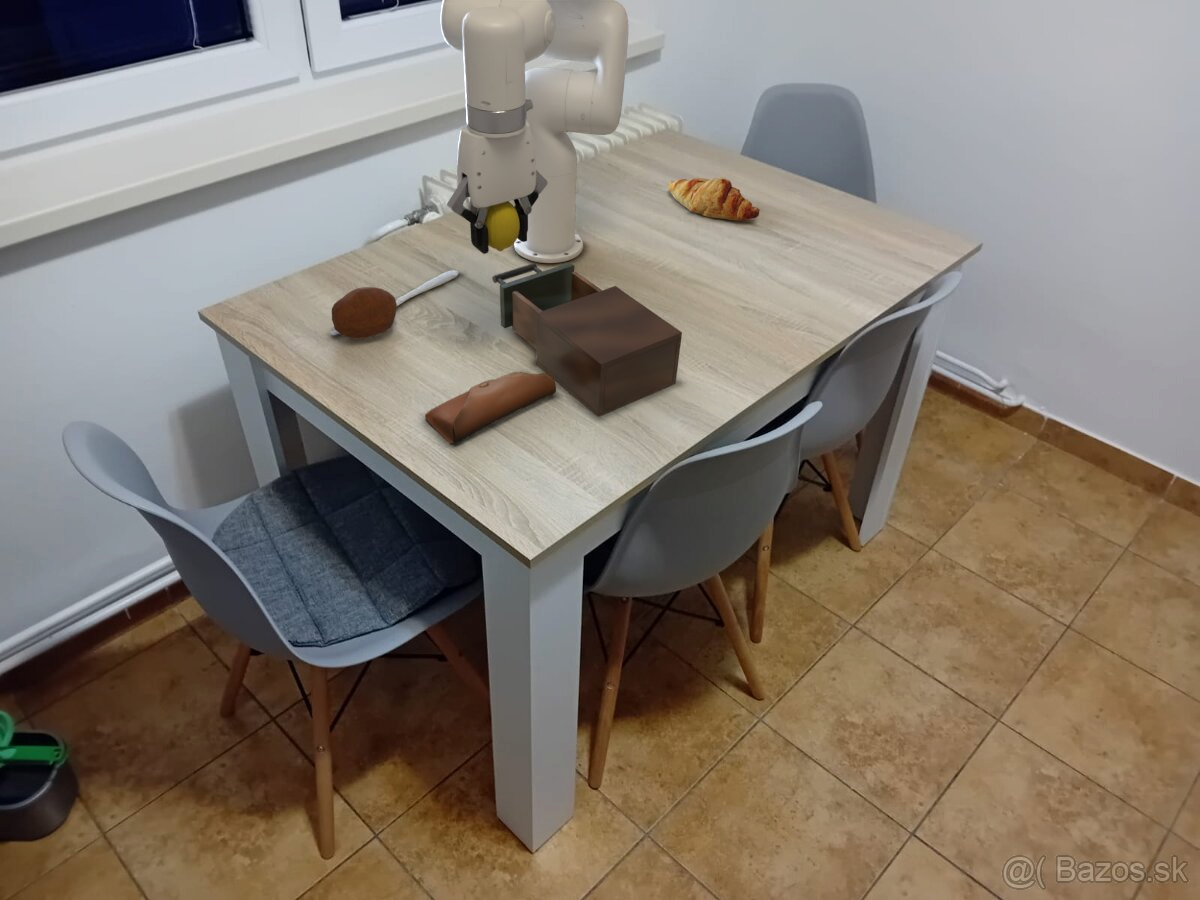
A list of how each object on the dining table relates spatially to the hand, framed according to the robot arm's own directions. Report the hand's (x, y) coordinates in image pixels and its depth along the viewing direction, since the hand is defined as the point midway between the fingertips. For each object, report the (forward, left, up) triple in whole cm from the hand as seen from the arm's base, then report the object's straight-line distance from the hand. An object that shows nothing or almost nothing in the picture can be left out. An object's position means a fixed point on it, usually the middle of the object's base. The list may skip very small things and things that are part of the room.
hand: (500, 242), depth 127 cm
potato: (-17, -14, -19) cm, 29 cm away
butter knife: (-22, -6, -19) cm, 30 cm away
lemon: (0, 0, -2) cm, 2 cm away
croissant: (-21, +63, -19) cm, 69 cm away
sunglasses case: (+10, -9, -19) cm, 24 cm away
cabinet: (+13, +10, -19) cm, 25 cm away
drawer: (-2, +10, -18) cm, 21 cm away
